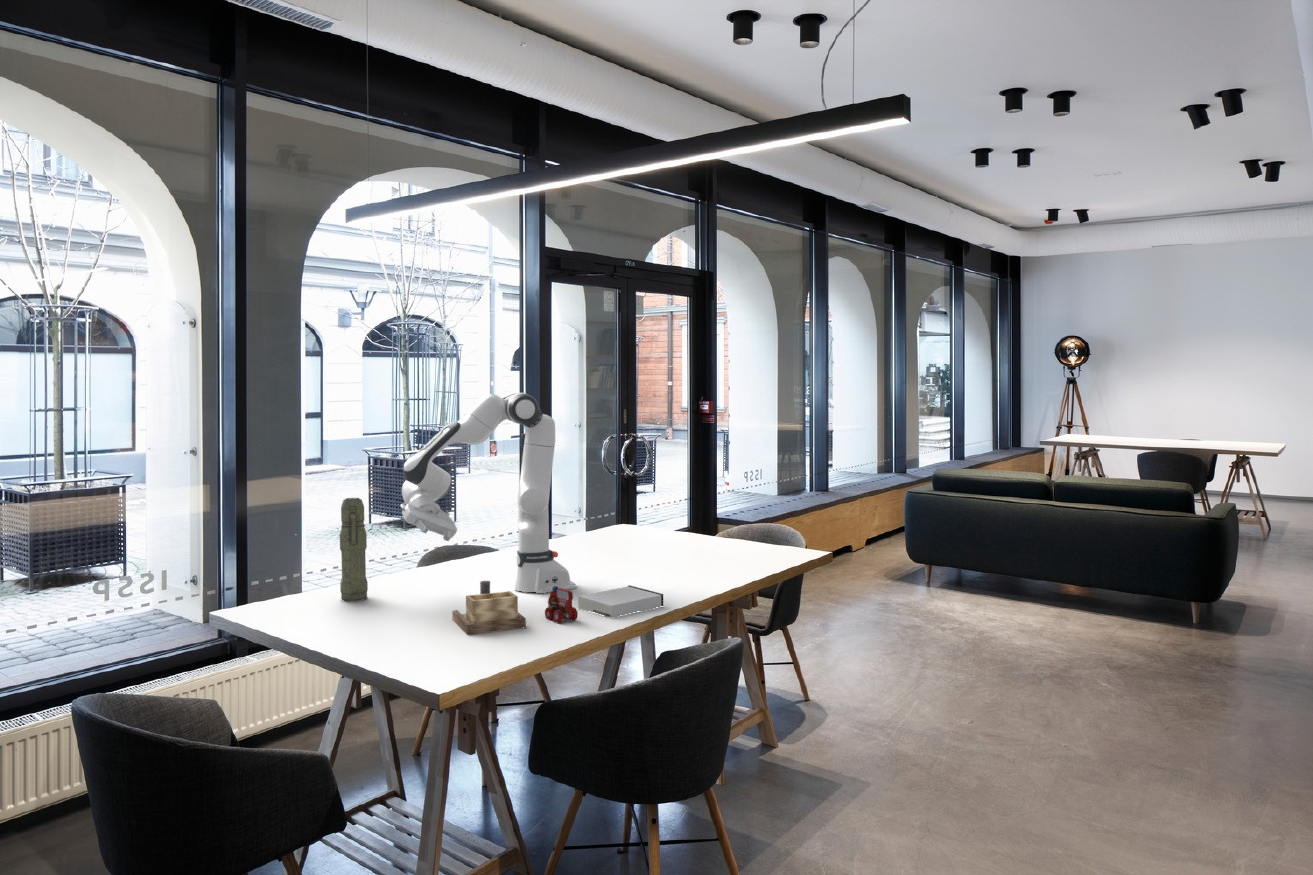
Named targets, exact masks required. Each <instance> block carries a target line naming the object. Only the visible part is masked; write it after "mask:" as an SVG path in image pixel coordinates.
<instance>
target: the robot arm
mask: <svg viewBox="0 0 1313 875" xmlns="http://www.w3.org/2000/svg"><path fill="white" fill-rule="evenodd" d="M506 420H508V421H511V422H512V423H515V424H519V425H522V426H523V428H524V434H525V435H524V441H523V442H524V444H523V451H522V459H521V466H520V467H521V469H520V476H519V477H520V478H519V486H518V494H517V504H518V506H517V509H518V514H517V515H518V517H517V518H518V520H517V522H518V525H517V531H518V532H517V533H518V535H517V537H518V538H517V539H518V540H517V541H518V547H517V548H518V549H517V551H516V564H517V573H516V581H515V584H514V588H513V589H514V590H515V591H516V590H517V591H516V592H519V591H522V592H521V593H527V592H536V593H535V594H538V593H544V594H547V593H546V592H551V591H552V588H553V587H554V586H557V587H558V588H562V589H566V590H569V591H570V590H573V589H576V588H577V583H576V582H574V581H572V580H571V576H570V572H569V570H568V569H567V568H566V567H564V566H563V565H561V563H559V562H558V561H556V559H555V558H558V557H559V553H558V552H557V551H553V550H552V549H550V535H549V534H550V530H549V529H550V528H549V527H550V524H549V522H550V521H549V518H550V517H549V501H550V492H551V483H552V474H553V466H554V465H553V464H554V463H553V462H554V457H555V455H554V454H555V448H556V447H555V446H556V422H555V419H553V417H552V416H550V415H548V414H544V413H543V412H542V410H541V408H540V405H539V403H538V401H537V399H536V398H535V397H534V396H533V395H531V394H528V393H524V392H516V393H512V394H509V395H507V396H504V397H501V396H499V395H497V394H495V393H487V394H485V395H484V396H483V397H481V399H479V400H478V401H477V402H476V403H475V404H474V405H473V406H472V407H471V408H470V410H469V411H468V412H467V414H466V415H464V417H462V418H460V419H458V420H457V421H452V422H449V423H448V424H447V425H445V426H444V427H443V428H441V430H440V431H439V432H437V433H436V434H435V435H434V436H433V437H432V438H431V439H430V440H429V441H428V442H427V443H426V444H425V445H424V446H423V447H422V448H420V449H419V450H418V451H416V453H414V454H413V455H411V456H410V457H408V459H406V461H405V462H404V463H403V466H402V474H403V478H404V480H405V481H404V482H403V484H402V486H401V495H402V498H403V501H404V503H401V504H400V508H401V510H402V511H401V514H402V518H403V520H404V521H405V522H406V523H407V524H410V525H413V526H416V527H417V528H418V529H419V530H420V532H421V533H423V534H427V532H428V531H429V532H432V533H435V534H438V535H440V536H443V537H442V538H443V540H444V541H446V542H450V540H451V539H453V538H454V536H455V535H456V534H457V533H458V527H457V525H456V523H455V522H454V520H453V519H452V518H451V517H450V512H449V511H448V510H446V509H445V508H444V507H441V506H440V505H439V504H438V503H436V502H438V501H439V500H440V499H442V498H444V497H445V496H446V495H447V494H448V493H449V491H450V490H451V487H452V482H453V481H452V475H451V474H450V473H449V472H447V471H446V470H444V469H443V468H441V466H438V465H437V464H436V463H434V462H433V460H434V459H435V458H436V457H437V456H438V455H439V454H441V452H442V451H444V450H445V449H446V448H447V447H448V446H450V445H451V444H455V443H458V444H459V443H461V444H465V445H471V446H472V445H474V446H476V445H480V444H483V443H484V442H486V441H487V440H489V438H490V436H492V434H493V432H495V430H496V429H497V427H498V426H499V425H501V423H502V422H503V421H506Z"/></svg>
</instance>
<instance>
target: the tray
mask: <svg viewBox="0 0 1313 875" xmlns="http://www.w3.org/2000/svg"><path fill="white" fill-rule="evenodd" d="M451 615H452V621H453V622H454V623H455V624H456V625H457V626H458V627H459V628H460V629H461V630H462V631H463V632H464V633H465V634H466V635H468V636H469V635H476V634H485V633H493V632H495V633H496V632H502V631H509V630H510V631H511V630H518V628H519V629H524V628H523V627H527V626H526V624H527V619H526V618H527V617H525V616H524V615H522V614H521V613H519V612H518V618H514V619H506V620H497V621H489V622H480V623H470V622H469V621H468V620H467V619H466V613H461V612H460V611H459V610H458V609H456V610H455V609H453V610H452V614H451Z"/></svg>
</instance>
